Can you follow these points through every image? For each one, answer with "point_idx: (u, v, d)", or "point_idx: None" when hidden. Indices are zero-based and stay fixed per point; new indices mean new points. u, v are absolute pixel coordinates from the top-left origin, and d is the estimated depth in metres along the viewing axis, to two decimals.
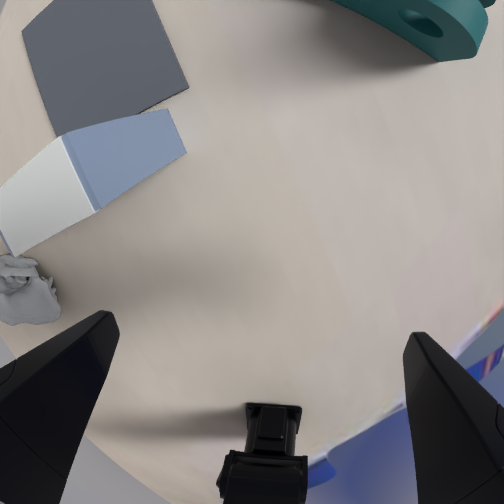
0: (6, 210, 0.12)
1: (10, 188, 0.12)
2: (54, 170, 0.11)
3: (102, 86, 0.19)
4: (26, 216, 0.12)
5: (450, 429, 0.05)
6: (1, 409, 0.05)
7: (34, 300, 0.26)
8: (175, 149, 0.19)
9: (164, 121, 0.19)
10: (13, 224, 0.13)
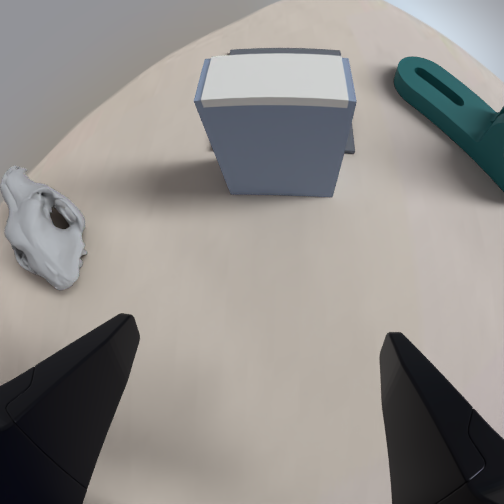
0: (236, 67, 0.15)
1: (259, 58, 0.15)
2: (322, 67, 0.14)
3: None
4: (259, 78, 0.14)
5: (421, 434, 0.05)
6: (21, 421, 0.04)
7: (62, 242, 0.21)
8: None
9: None
10: (232, 78, 0.15)
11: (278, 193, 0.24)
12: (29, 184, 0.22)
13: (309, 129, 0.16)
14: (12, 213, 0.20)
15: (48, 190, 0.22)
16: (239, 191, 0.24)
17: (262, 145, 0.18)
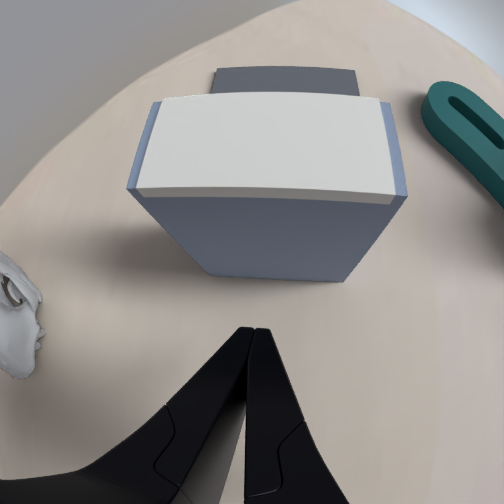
0: (199, 120, 0.09)
1: (239, 100, 0.09)
2: (348, 121, 0.09)
3: None
4: (237, 143, 0.09)
5: None
6: (179, 480, 0.04)
7: (11, 330, 0.15)
8: None
9: None
10: (191, 142, 0.09)
11: (272, 277, 0.18)
12: None
13: (320, 226, 0.10)
14: None
15: None
16: (220, 274, 0.19)
17: (246, 240, 0.12)
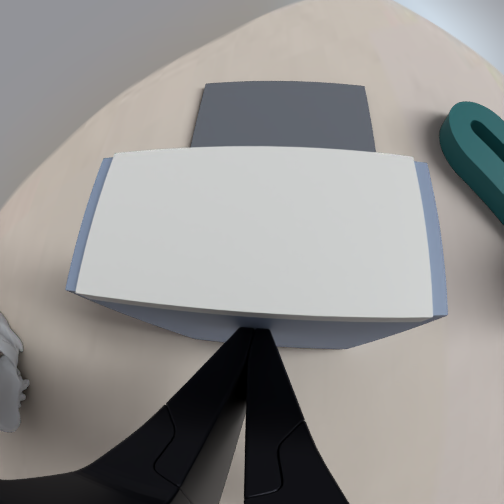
0: (157, 191, 0.07)
1: (214, 161, 0.07)
2: (371, 196, 0.06)
3: None
4: (209, 233, 0.06)
5: None
6: (179, 480, 0.04)
7: None
8: None
9: None
10: (145, 227, 0.06)
11: None
12: None
13: (322, 330, 0.08)
14: None
15: None
16: (206, 339, 0.16)
17: (230, 330, 0.10)
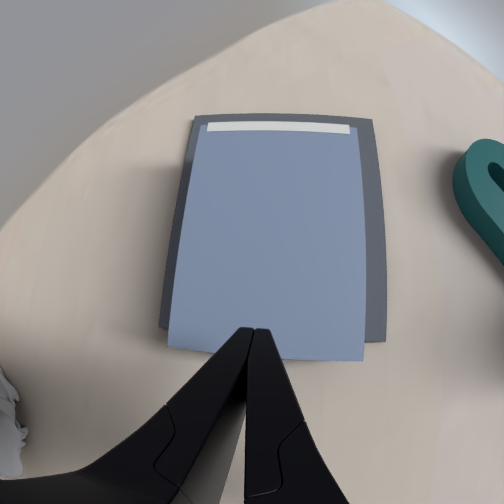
0: None
1: None
2: None
3: None
4: None
5: None
6: (178, 480, 0.04)
7: None
8: None
9: None
10: None
11: None
12: None
13: (314, 167, 0.14)
14: None
15: None
16: (185, 336, 0.12)
17: (252, 197, 0.14)
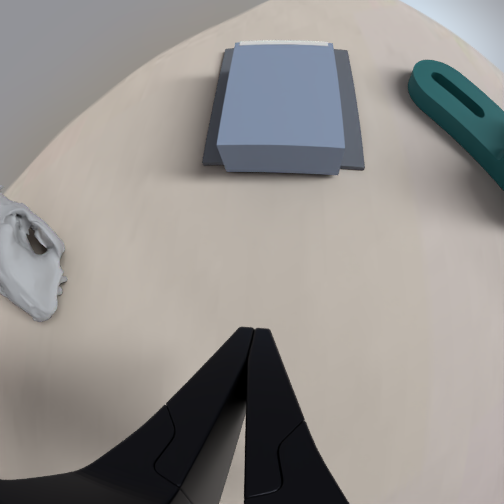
0: None
1: None
2: None
3: None
4: None
5: None
6: (179, 480, 0.04)
7: (37, 272, 0.18)
8: None
9: None
10: None
11: (276, 141, 0.19)
12: (4, 204, 0.19)
13: (306, 59, 0.20)
14: None
15: (23, 212, 0.19)
16: (229, 138, 0.19)
17: (270, 72, 0.20)
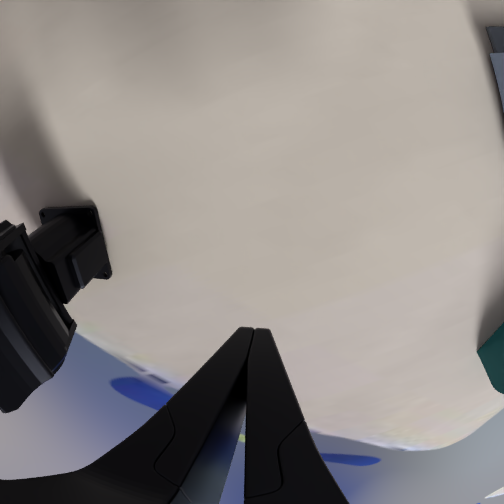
0: None
1: None
2: None
3: None
4: None
5: None
6: (179, 480, 0.04)
7: None
8: None
9: None
10: None
11: None
12: None
13: None
14: None
15: None
16: None
17: None
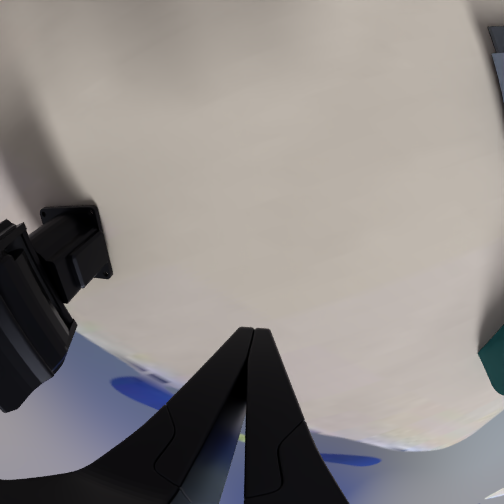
0: None
1: None
2: None
3: None
4: None
5: None
6: (179, 480, 0.04)
7: None
8: None
9: None
10: None
11: None
12: None
13: None
14: None
15: None
16: None
17: None
